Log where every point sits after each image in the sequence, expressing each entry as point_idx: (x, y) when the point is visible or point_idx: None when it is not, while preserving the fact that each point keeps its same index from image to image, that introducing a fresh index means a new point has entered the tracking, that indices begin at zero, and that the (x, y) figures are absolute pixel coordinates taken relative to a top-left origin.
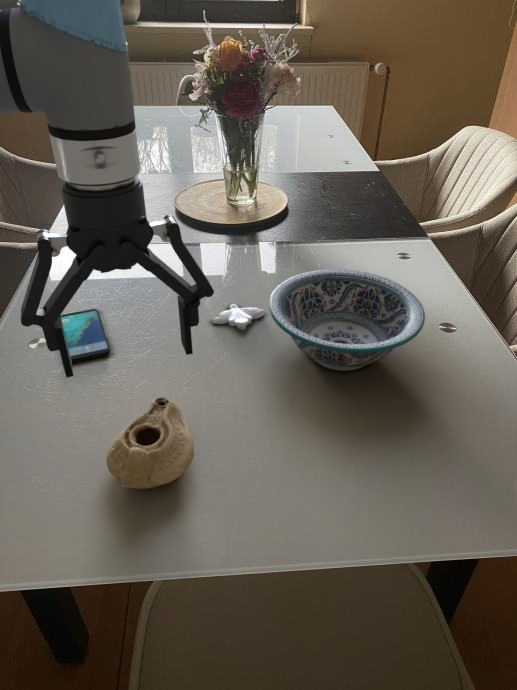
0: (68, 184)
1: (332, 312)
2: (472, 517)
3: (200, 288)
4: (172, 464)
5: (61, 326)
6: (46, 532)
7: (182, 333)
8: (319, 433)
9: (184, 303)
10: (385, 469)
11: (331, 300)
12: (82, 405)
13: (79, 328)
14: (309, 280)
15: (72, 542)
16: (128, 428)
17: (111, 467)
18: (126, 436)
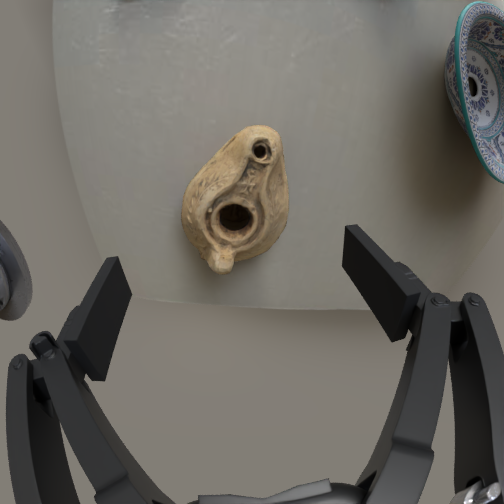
0: None
1: (483, 46)
2: (438, 287)
3: (449, 358)
4: (259, 249)
5: (102, 377)
6: (133, 259)
7: (358, 263)
8: (409, 192)
9: (404, 325)
10: (427, 244)
11: (492, 40)
12: (142, 75)
13: None
14: (494, 18)
15: (158, 272)
16: (210, 205)
17: (188, 237)
18: (207, 215)
